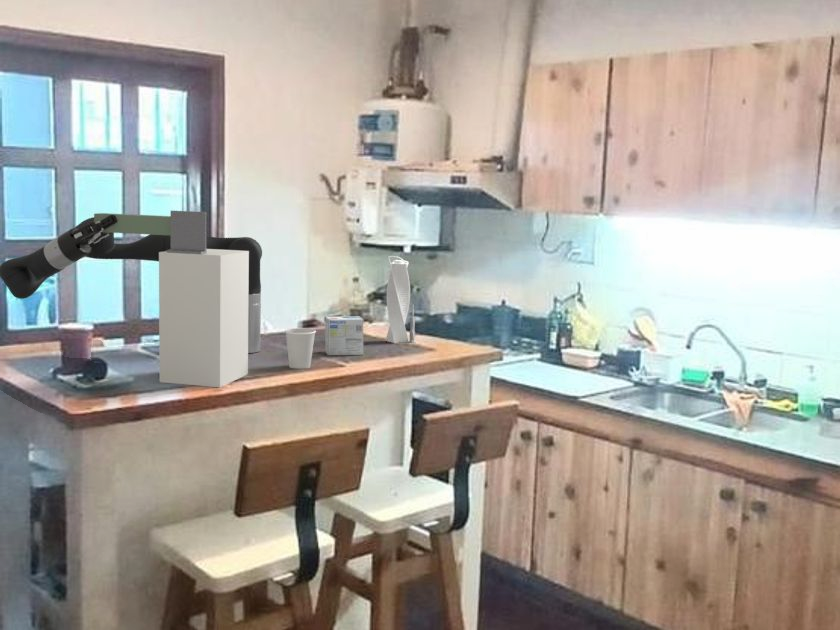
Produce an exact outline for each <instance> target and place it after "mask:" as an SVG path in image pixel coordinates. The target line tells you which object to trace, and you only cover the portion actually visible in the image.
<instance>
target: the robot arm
mask: <svg viewBox="0 0 840 630" xmlns="http://www.w3.org/2000/svg"><path fill="white" fill-rule="evenodd" d="M115 223H117V219H116V217H115V215H110V216H108V217H106V218H105V219H103V220H101V221H97V222H96V223H95V222H94V216H93V217H90V218H87V219H85V220H83V221H81V222H80V223H78V225H76V226H75V227H72V228H70V229H69V230H67V231H65V232H63V233H62V234H60V235H59V236H57V237H55V238H54V239H52V240H50V242H48V243H47V244H46V245H44V246H42V247H41V248H39V249H38V250H35V251H34V252H31V253H30V254H27V255H24V256H19V257H15V258H14V257H13V258H10V259H7V260H5V261H4V262H2V263H1V264H0V278H1V280H2V281H3V283H4V284H5V286H6V287H7V288H8V290H9V292H10V293H11V294H12V296H13V297H14V298H17V299H19V300H21V299H22V300H23V299H27V298H30V297H31V296H32V295H34V294H35V292H36V291H37V290H38V289H39V288H40V286H41V285H42V284H43V283H44V282H45V281H46V280H47V279H49V278H51V277H52V276H54V275H56V274H58V273H59V272H61V271H63V270H64V269H66V268H67V267H69V266H71V265H73V264H74V263H76V262H78V261H79V260H81V259H83V258H85V257H86V258H90V259H94V260H95V259H96V260H137V261H139V260H140V261H151V262H159V252H164V251H167V250H171V235H151V234H147V236H144V237H142V238H141V239H138V240H136V241H133V242H128V243H115V233H110V232H102V231H104V230H105V229H107V228H108V227H110V226H112V225H113V224H115ZM206 249H220V250H240V251H249V293H248V354H254V353H259V352H261V322H262V321H261V319H262V318H261V316H262V315H261V308H262V307H261V305H262V302H261V301H262V300H261V299H262V298H261V297H262V293H261V291H262V284H261V260H262V256H263V250H262V246H261V244H260V243H259V242H258V241H257V240H256V239H254V238H252V237H248V236H241V237H239V236H238V237H217V236H216V237H214V236H209V235H208V236H207V235H206Z"/></svg>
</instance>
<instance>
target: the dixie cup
mask: <svg viewBox="0 0 840 630" xmlns="http://www.w3.org/2000/svg"><path fill="white" fill-rule="evenodd" d="M284 332H285V339H286V348H287V356H288V366H289V368H291V369H295V370H296V369H298V370H302V369H303V370H305V369H309V368H311V365H312V358H313V357H312V356H313V348H314V343H315V336H316V333H317V331H316V330H315V329H314V328H305V327H303V328H302V327H298V328H295V327H294V328H287V329H285V330H284Z"/></svg>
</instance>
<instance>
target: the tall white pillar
mask: <svg viewBox="0 0 840 630" xmlns="http://www.w3.org/2000/svg"><path fill="white" fill-rule="evenodd" d="M248 293H249V251H240V250H220V249H206V254H184V253H167V251H164V252H159V261H158V320H159V322H158V329H159V330H158V331H159V332H158V333H159V334H158V336H159V338H158V342H159V343H158V344H159V345H158V347H159V351H158V352H159V355H158V356H159V361H158V363H159V366H158V367H159V369H158V370H159V374H158V375H159V383H165V384H177V385H186V386H187V385H190V386H199V387H201V386H202V387H212V388H221V387H224V386H225V385H228V384H230V383H232V382H235V381H236V380H239V379H240V378H243V377H245V376H247V375H249V353H248Z"/></svg>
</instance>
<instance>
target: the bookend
mask: <svg viewBox="0 0 840 630" xmlns="http://www.w3.org/2000/svg"><path fill="white" fill-rule="evenodd" d="M170 216H171V250H167V253H184V254H206V236H207V211H194V210H193V211H187V210H170Z"/></svg>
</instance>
